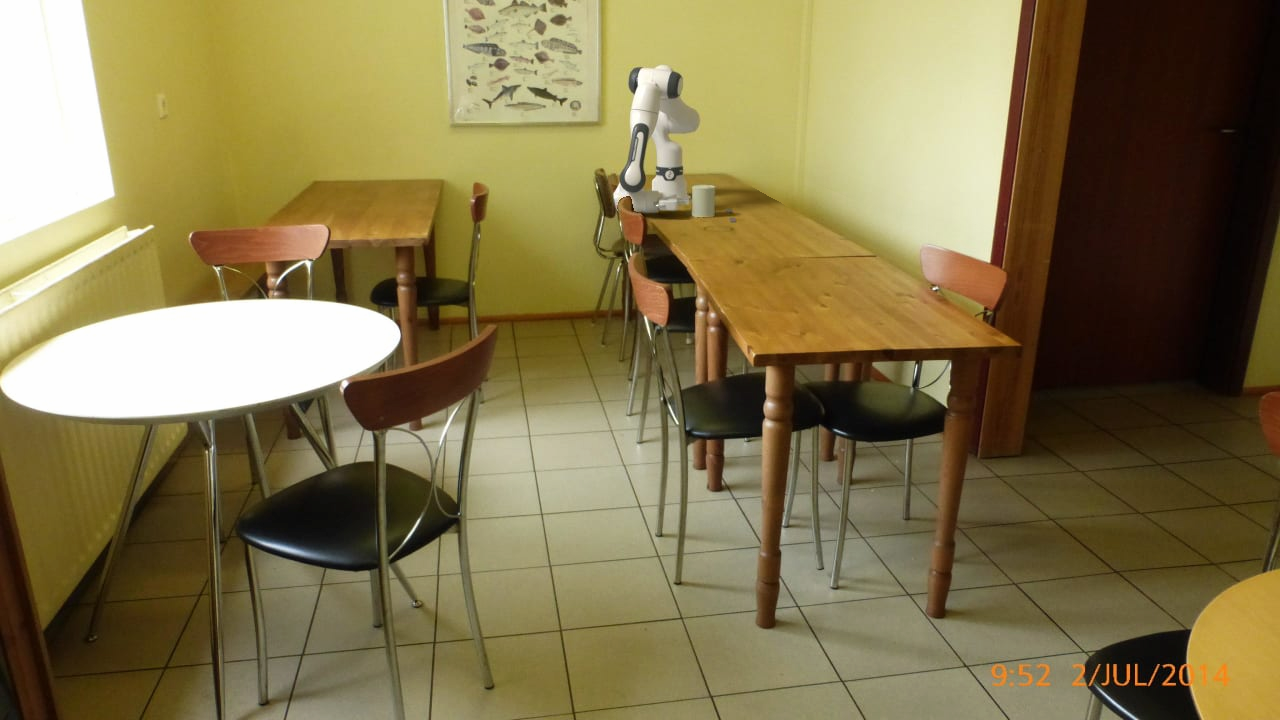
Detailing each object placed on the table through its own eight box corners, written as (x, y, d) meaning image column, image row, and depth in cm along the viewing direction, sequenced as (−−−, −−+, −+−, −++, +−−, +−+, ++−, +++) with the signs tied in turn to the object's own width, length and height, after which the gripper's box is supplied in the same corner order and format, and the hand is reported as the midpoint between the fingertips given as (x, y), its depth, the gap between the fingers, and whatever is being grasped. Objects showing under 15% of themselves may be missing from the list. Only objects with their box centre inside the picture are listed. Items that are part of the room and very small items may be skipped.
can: (706, 218, 364) (707, 187, 360) (686, 216, 369) (687, 185, 365) (719, 215, 371) (719, 185, 367) (699, 213, 376) (700, 183, 372)
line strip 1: (726, 209, 383) (726, 208, 383) (730, 209, 383) (730, 208, 383) (727, 212, 376) (727, 212, 376) (731, 212, 376) (731, 212, 376)
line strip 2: (729, 218, 364) (729, 217, 363) (734, 218, 363) (734, 217, 363) (731, 222, 356) (731, 221, 356) (735, 222, 356) (735, 221, 356)
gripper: (653, 197, 358) (690, 197, 357) (654, 190, 377) (688, 190, 377) (653, 214, 360) (689, 214, 359) (654, 205, 379) (688, 205, 379)
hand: (689, 201), depth 368 cm, fingers closed
